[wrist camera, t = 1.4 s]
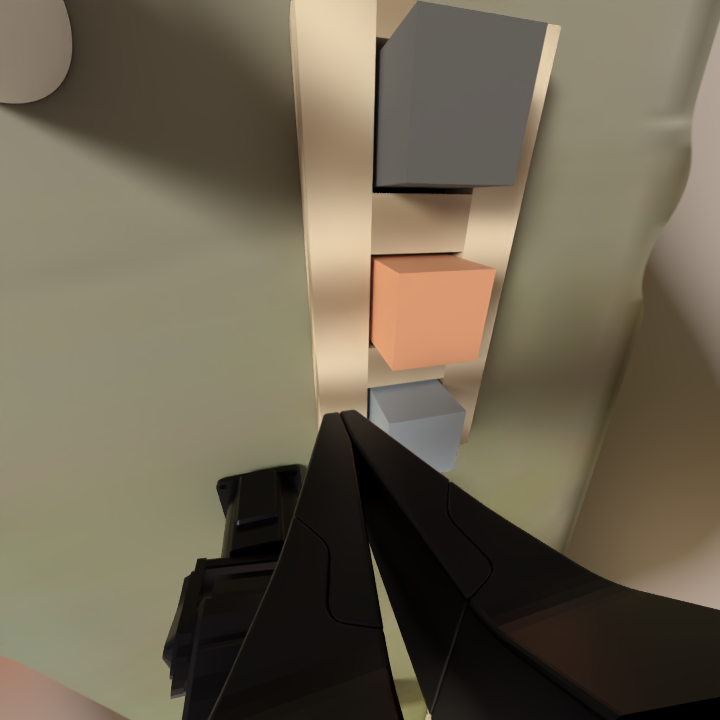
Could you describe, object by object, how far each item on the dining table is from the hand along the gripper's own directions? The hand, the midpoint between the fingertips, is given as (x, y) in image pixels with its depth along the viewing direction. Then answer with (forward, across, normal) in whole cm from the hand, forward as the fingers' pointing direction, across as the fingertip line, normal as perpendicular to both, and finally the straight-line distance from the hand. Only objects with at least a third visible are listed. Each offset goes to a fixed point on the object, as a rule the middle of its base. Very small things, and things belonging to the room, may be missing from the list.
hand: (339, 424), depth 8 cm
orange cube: (+12, -7, 0) cm, 13 cm away
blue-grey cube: (+12, -6, +8) cm, 16 cm away
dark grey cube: (+12, -7, -8) cm, 16 cm away
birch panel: (+13, -7, 0) cm, 15 cm away
